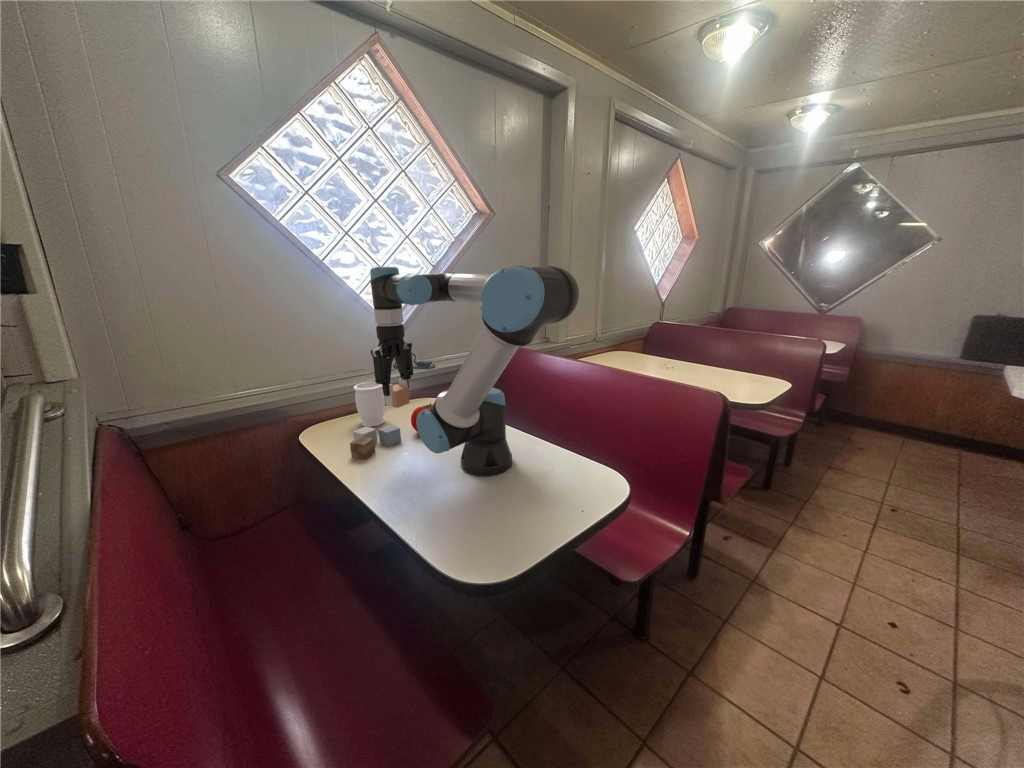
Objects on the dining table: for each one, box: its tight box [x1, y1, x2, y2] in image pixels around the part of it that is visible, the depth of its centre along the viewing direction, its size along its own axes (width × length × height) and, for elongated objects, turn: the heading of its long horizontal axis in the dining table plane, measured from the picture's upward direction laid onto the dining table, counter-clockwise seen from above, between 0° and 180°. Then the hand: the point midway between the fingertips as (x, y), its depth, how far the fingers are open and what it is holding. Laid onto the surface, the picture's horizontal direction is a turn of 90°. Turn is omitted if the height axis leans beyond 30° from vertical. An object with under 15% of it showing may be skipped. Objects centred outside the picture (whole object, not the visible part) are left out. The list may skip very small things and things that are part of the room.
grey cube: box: [352, 426, 378, 445], centre depth 131 cm, size 5×5×5 cm
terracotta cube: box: [384, 384, 411, 409], centre depth 117 cm, size 5×5×5 cm
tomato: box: [410, 402, 433, 433], centre depth 139 cm, size 11×13×10 cm
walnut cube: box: [349, 437, 376, 460], centre depth 123 cm, size 5×5×5 cm
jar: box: [353, 381, 386, 428], centre depth 148 cm, size 11×10×15 cm
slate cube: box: [377, 424, 402, 447], centre depth 132 cm, size 5×5×5 cm
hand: (397, 402), depth 117 cm, fingers closed on terracotta cube, 5 cm apart
